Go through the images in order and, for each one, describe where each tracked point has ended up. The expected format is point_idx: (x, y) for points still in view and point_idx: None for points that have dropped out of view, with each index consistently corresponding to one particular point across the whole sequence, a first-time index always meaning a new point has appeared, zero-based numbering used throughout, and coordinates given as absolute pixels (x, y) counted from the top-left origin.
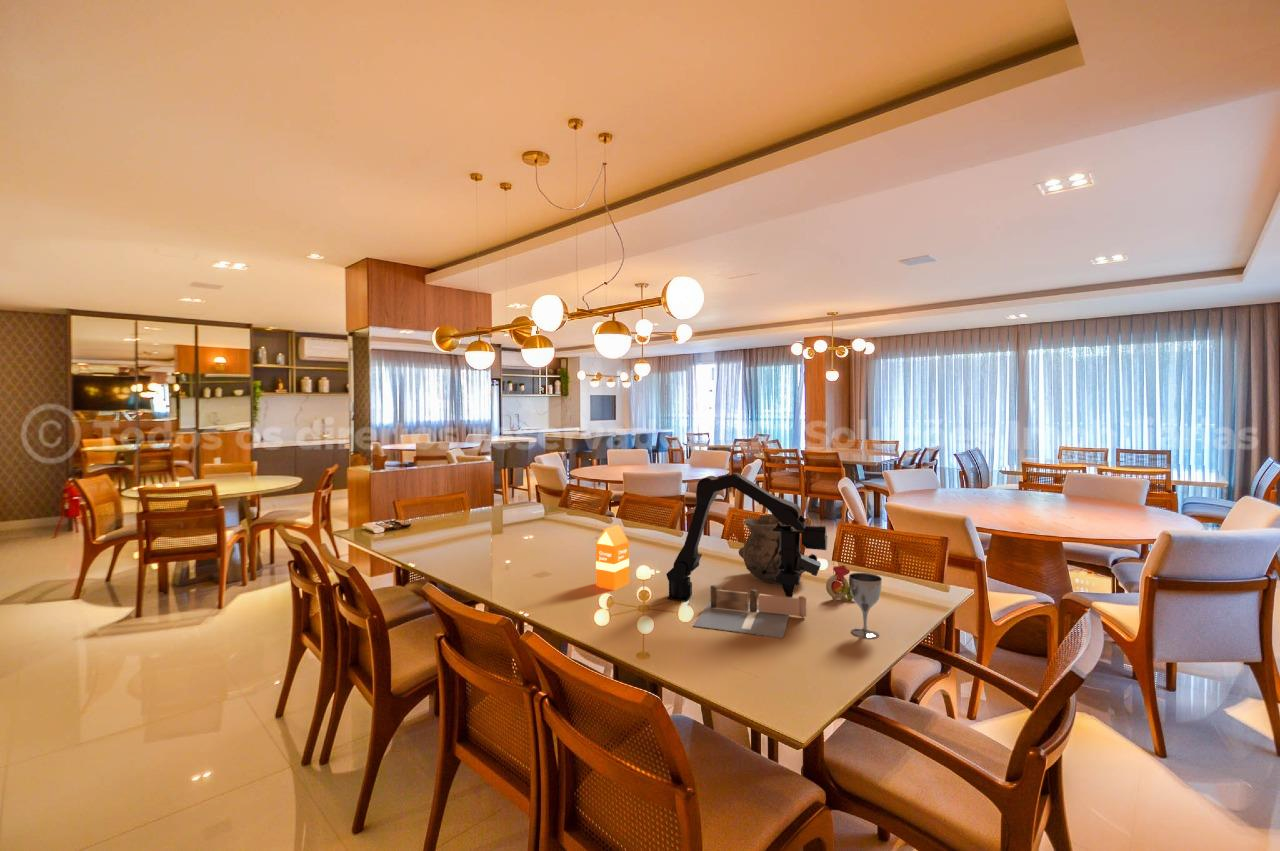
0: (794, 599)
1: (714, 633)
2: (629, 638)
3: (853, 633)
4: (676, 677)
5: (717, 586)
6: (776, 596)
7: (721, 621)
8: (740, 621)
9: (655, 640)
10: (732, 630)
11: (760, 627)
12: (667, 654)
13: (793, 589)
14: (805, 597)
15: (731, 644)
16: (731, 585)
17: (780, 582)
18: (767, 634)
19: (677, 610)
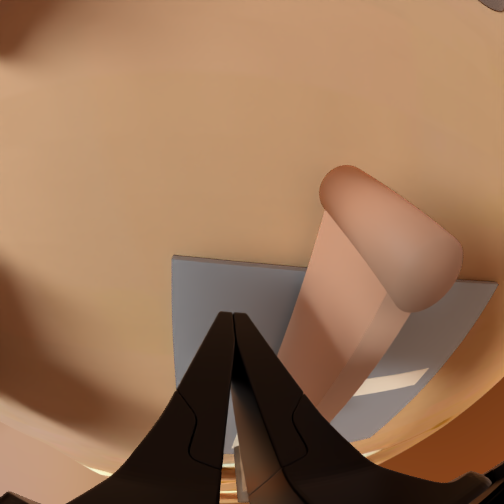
0: (396, 326)
1: (412, 406)
2: (390, 450)
3: (493, 4)
4: (499, 378)
5: (248, 500)
6: (327, 418)
7: (357, 421)
8: (366, 399)
9: (407, 436)
10: (418, 392)
11: (425, 352)
12: (452, 410)
13: (315, 408)
14: (448, 245)
15: (467, 369)
16: (34, 403)
17: (489, 479)
18: (471, 325)
19: None
